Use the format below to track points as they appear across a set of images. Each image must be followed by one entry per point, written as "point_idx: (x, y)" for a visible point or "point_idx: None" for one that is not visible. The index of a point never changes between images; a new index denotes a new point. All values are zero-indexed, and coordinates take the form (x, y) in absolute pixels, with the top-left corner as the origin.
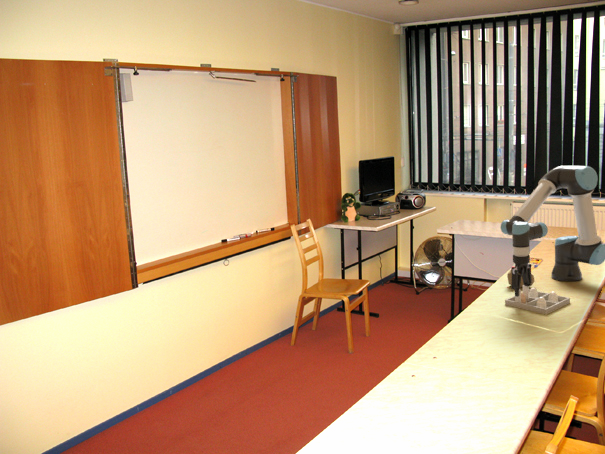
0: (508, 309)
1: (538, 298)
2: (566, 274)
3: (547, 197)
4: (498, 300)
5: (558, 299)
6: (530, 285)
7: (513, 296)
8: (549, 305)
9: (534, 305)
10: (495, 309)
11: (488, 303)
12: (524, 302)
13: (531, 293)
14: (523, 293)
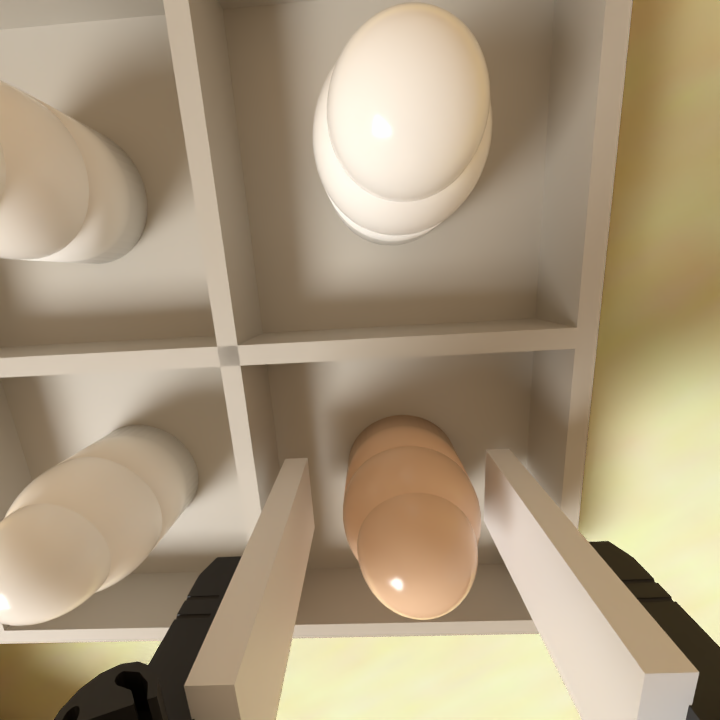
0: (621, 475)
1: (460, 148)
2: None
3: None
4: (426, 679)
5: None
6: (110, 688)
7: (377, 630)
8: (233, 136)
9: (343, 323)
10: (700, 564)
11: (567, 694)
12: (421, 432)
13: (137, 524)
14: (398, 559)
